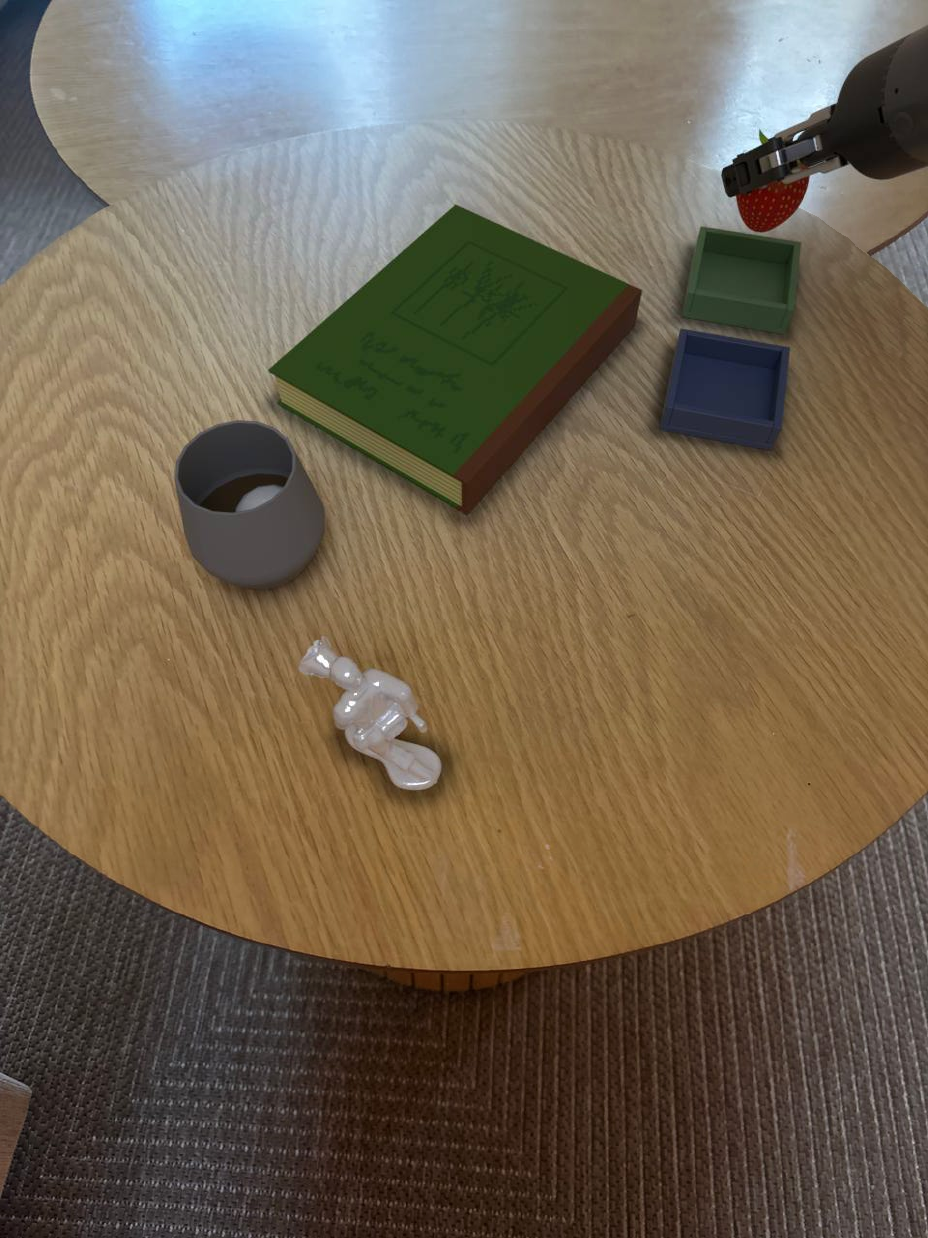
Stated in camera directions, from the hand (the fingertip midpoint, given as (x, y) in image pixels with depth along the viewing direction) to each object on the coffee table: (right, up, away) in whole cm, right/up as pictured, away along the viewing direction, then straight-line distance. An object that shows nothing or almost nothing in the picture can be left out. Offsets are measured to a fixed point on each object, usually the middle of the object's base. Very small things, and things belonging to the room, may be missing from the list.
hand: (757, 171), depth 69 cm
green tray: (+1, -6, +8) cm, 10 cm away
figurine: (-28, -43, -12) cm, 53 cm away
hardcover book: (-23, -14, +4) cm, 27 cm away
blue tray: (-2, -17, +2) cm, 18 cm away
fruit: (+1, -3, +3) cm, 5 cm away
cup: (-37, -30, -5) cm, 48 cm away
